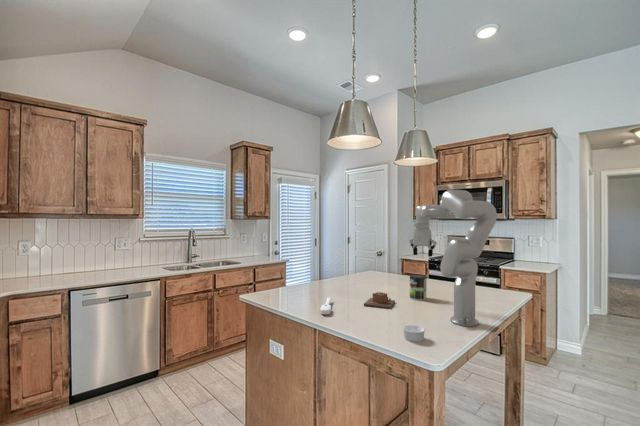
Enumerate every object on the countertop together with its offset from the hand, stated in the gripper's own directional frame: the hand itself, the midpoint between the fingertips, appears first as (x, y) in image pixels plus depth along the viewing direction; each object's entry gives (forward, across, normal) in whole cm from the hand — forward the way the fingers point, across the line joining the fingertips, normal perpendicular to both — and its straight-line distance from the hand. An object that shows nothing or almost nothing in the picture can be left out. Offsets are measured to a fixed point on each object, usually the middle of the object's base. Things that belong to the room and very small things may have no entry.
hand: (422, 255), depth 188 cm
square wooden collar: (+27, -16, -18) cm, 36 cm away
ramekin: (+29, +26, -51) cm, 64 cm away
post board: (+28, -16, -20) cm, 38 cm away
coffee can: (+28, -9, +9) cm, 31 cm away
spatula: (+28, -30, -48) cm, 64 cm away
